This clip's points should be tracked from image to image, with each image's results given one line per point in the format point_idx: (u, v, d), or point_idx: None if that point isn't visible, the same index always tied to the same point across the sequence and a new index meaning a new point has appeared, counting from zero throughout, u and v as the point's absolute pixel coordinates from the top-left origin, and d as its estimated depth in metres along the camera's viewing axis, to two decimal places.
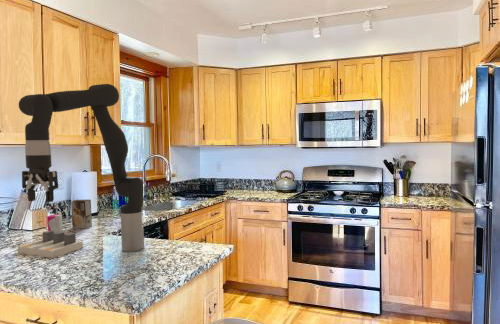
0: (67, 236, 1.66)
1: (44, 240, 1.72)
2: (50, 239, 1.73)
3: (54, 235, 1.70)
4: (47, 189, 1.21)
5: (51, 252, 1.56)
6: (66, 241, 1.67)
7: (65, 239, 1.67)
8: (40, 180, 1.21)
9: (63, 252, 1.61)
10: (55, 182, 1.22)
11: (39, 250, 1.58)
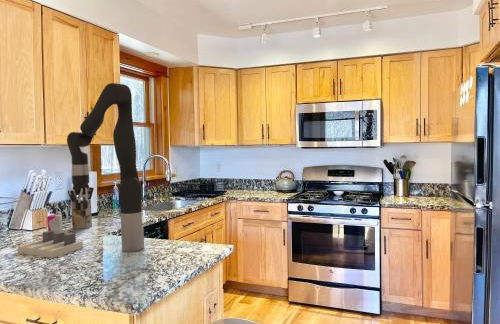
0: (67, 236, 1.66)
1: (44, 240, 1.72)
2: (50, 239, 1.73)
3: (54, 235, 1.70)
4: (87, 199, 1.76)
5: (51, 252, 1.56)
6: (66, 241, 1.67)
7: (65, 239, 1.67)
8: (86, 192, 1.75)
9: (63, 252, 1.61)
10: (88, 195, 1.79)
11: (39, 250, 1.58)
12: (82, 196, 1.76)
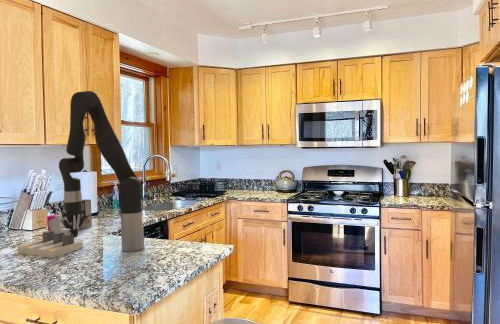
0: (66, 236, 1.66)
1: (44, 240, 1.72)
2: (50, 239, 1.73)
3: (54, 235, 1.70)
4: (77, 227, 1.71)
5: (51, 252, 1.56)
6: (64, 241, 1.66)
7: (63, 239, 1.66)
8: (78, 219, 1.71)
9: (63, 252, 1.61)
10: (79, 222, 1.74)
11: (39, 250, 1.58)
12: None
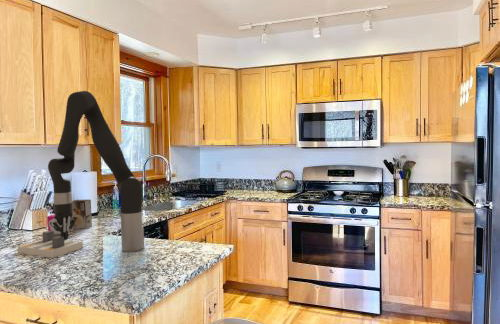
0: (56, 239, 1.61)
1: (44, 240, 1.72)
2: (50, 239, 1.73)
3: (54, 235, 1.70)
4: (68, 230, 1.66)
5: (51, 252, 1.56)
6: (54, 245, 1.61)
7: (53, 242, 1.61)
8: (68, 221, 1.66)
9: (63, 252, 1.61)
10: (69, 224, 1.69)
11: (39, 250, 1.58)
12: None
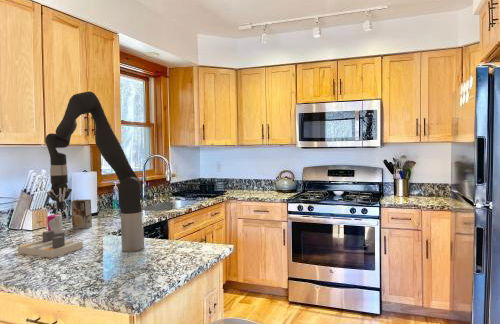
0: (56, 239, 1.61)
1: (44, 240, 1.72)
2: (50, 239, 1.73)
3: (54, 235, 1.70)
4: (63, 200, 1.80)
5: (51, 252, 1.56)
6: (54, 244, 1.61)
7: (53, 242, 1.61)
8: (64, 192, 1.80)
9: (63, 252, 1.61)
10: (64, 195, 1.83)
11: (39, 250, 1.58)
12: None
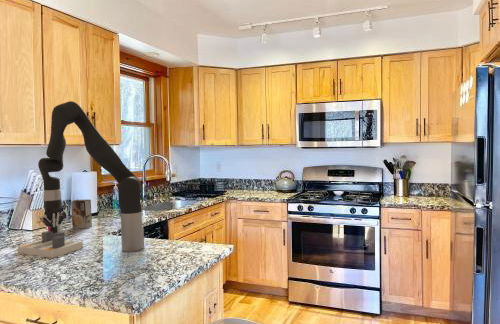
0: (56, 239, 1.61)
1: (43, 240, 1.72)
2: (49, 239, 1.73)
3: (54, 235, 1.70)
4: (57, 225, 1.77)
5: (51, 252, 1.56)
6: (54, 244, 1.61)
7: (53, 242, 1.61)
8: (58, 217, 1.77)
9: (63, 252, 1.61)
10: (58, 220, 1.80)
11: (39, 250, 1.58)
12: None
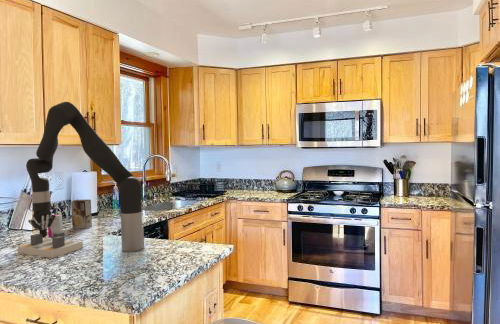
0: (56, 239, 1.61)
1: (32, 243, 1.67)
2: (38, 242, 1.67)
3: (54, 235, 1.70)
4: (46, 227, 1.72)
5: (51, 252, 1.56)
6: (54, 244, 1.61)
7: (53, 242, 1.61)
8: (47, 219, 1.71)
9: (63, 252, 1.61)
10: (48, 222, 1.75)
11: (39, 250, 1.58)
12: None
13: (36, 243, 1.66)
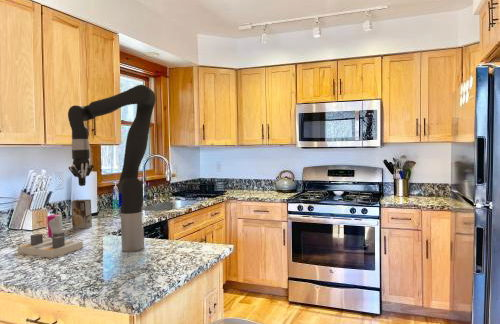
0: (56, 239, 1.61)
1: (32, 243, 1.67)
2: (38, 242, 1.67)
3: (54, 235, 1.70)
4: (85, 176, 1.71)
5: (51, 252, 1.56)
6: (54, 244, 1.61)
7: (53, 242, 1.61)
8: (86, 168, 1.71)
9: (63, 252, 1.61)
10: (86, 171, 1.74)
11: (39, 250, 1.58)
12: None
13: (36, 243, 1.66)
